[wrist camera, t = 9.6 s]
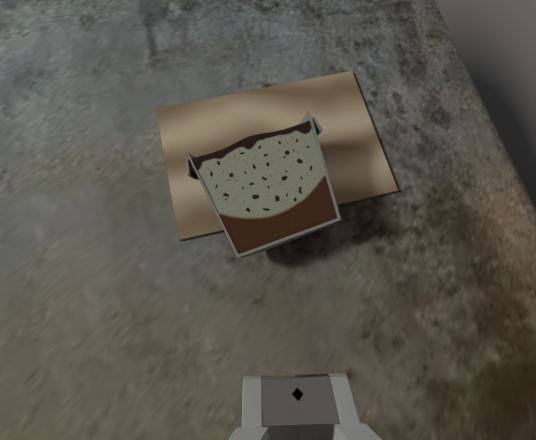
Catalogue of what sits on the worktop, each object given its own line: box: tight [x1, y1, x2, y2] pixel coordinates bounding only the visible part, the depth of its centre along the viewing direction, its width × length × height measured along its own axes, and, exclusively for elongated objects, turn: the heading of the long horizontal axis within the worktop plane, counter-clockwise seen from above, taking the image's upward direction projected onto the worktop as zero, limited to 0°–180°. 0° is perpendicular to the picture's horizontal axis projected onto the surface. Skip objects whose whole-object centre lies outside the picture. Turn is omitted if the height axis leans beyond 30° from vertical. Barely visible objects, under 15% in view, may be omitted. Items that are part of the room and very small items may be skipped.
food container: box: [185, 111, 341, 258], centre depth 36 cm, size 12×6×10 cm
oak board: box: [156, 71, 398, 241], centre depth 41 cm, size 15×22×1 cm
